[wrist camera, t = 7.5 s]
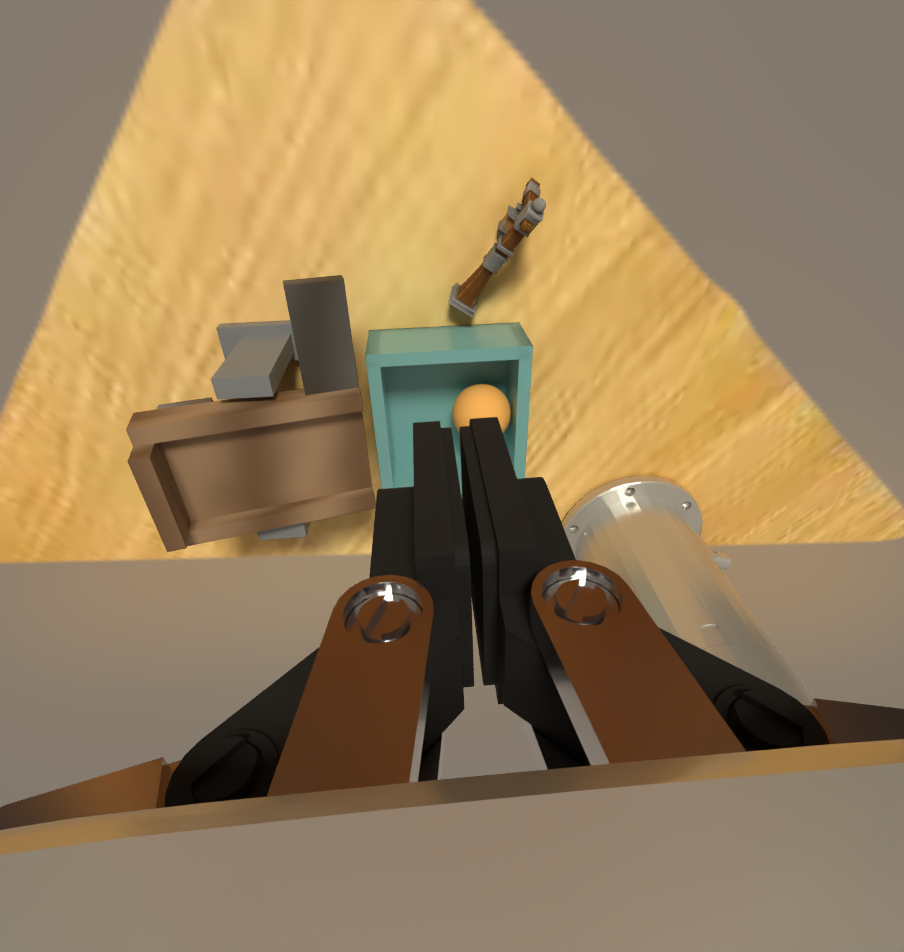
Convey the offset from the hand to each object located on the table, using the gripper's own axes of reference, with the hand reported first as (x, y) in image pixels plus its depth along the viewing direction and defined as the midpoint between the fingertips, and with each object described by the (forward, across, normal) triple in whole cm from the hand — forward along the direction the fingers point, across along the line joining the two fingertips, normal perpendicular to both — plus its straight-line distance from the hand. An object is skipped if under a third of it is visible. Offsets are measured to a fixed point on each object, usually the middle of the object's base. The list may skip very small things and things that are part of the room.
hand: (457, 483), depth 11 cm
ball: (+23, -3, +10) cm, 26 cm away
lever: (+22, +11, +7) cm, 26 cm away
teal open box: (+26, -1, +10) cm, 28 cm away
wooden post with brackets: (+26, -4, 0) cm, 26 cm away
